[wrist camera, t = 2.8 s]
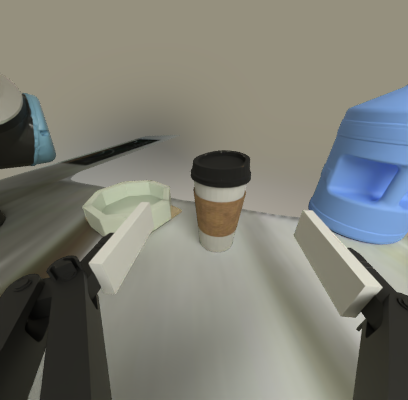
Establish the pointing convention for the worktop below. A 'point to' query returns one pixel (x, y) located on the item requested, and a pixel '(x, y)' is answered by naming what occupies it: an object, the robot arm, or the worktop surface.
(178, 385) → the worktop surface
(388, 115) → the water jug
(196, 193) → the coffee cup
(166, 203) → the bowl
